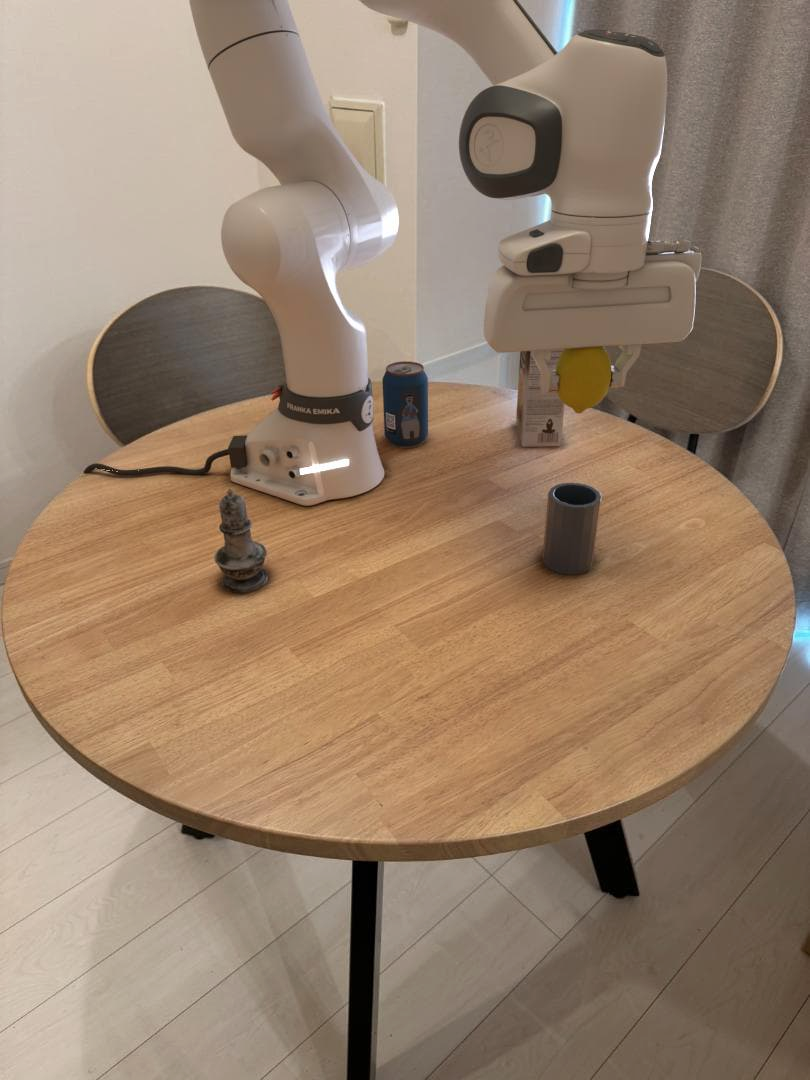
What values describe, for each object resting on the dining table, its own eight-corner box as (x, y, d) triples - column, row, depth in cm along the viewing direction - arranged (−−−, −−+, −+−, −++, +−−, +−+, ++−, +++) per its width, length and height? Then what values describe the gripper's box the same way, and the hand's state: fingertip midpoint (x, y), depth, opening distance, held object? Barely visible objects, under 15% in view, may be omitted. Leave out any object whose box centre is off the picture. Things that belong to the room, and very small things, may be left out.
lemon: (546, 419, 75) (553, 342, 71) (558, 400, 80) (565, 326, 75) (601, 426, 73) (611, 347, 69) (610, 406, 78) (620, 331, 73)
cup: (537, 569, 86) (543, 502, 81) (548, 544, 91) (555, 479, 86) (587, 579, 84) (596, 511, 79) (596, 553, 89) (605, 487, 84)
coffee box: (514, 423, 122) (520, 326, 113) (553, 423, 122) (562, 326, 113) (521, 447, 114) (528, 345, 105) (562, 447, 114) (572, 344, 105)
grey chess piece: (279, 570, 87) (266, 480, 81) (254, 598, 82) (239, 505, 76) (235, 562, 89) (220, 473, 82) (209, 589, 84) (190, 497, 78)
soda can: (406, 428, 121) (405, 356, 115) (437, 440, 117) (437, 366, 111) (375, 441, 117) (372, 368, 111) (406, 454, 113) (404, 378, 107)
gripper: (689, 232, 71) (665, 370, 79) (482, 242, 69) (477, 383, 77) (721, 245, 66) (692, 392, 73) (498, 256, 64) (491, 406, 71)
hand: (581, 387), depth 75 cm, fingers closed on lemon, 5 cm apart
